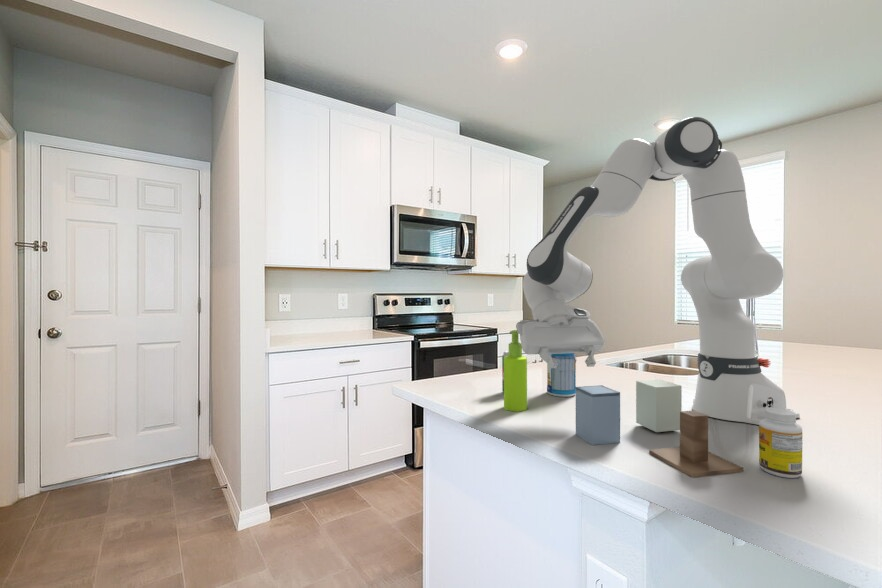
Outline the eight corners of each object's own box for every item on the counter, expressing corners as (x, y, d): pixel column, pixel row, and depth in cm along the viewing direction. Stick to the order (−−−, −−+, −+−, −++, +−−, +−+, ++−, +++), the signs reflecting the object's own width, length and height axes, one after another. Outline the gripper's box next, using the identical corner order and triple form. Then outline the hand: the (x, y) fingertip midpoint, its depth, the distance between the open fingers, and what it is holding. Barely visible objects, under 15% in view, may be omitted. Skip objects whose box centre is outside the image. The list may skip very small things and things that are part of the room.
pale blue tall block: (602, 431, 88) (602, 385, 88) (620, 442, 82) (620, 392, 82) (575, 434, 86) (575, 386, 86) (592, 444, 80) (592, 394, 80)
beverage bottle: (561, 399, 114) (561, 327, 113) (540, 392, 121) (540, 325, 121) (582, 395, 118) (582, 325, 118) (560, 388, 125) (560, 323, 125)
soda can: (519, 395, 118) (519, 354, 117) (501, 395, 119) (501, 353, 118) (519, 391, 122) (519, 351, 122) (502, 390, 123) (502, 351, 123)
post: (695, 448, 78) (695, 403, 78) (743, 471, 68) (743, 420, 68) (649, 453, 76) (649, 407, 76) (692, 477, 66) (692, 424, 66)
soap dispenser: (531, 405, 107) (531, 329, 107) (522, 412, 101) (521, 332, 101) (510, 402, 110) (510, 328, 110) (500, 409, 105) (499, 331, 104)
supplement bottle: (759, 461, 72) (759, 404, 72) (801, 470, 69) (802, 410, 68) (757, 473, 68) (758, 411, 68) (802, 483, 64) (803, 418, 64)
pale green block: (660, 423, 93) (660, 379, 93) (681, 432, 87) (681, 385, 87) (636, 425, 92) (636, 380, 92) (656, 435, 86) (655, 387, 85)
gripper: (517, 312, 98) (534, 359, 89) (594, 311, 102) (618, 356, 93) (510, 328, 103) (526, 375, 93) (584, 327, 107) (607, 372, 97)
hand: (573, 366), depth 93 cm, fingers open, 8 cm apart
